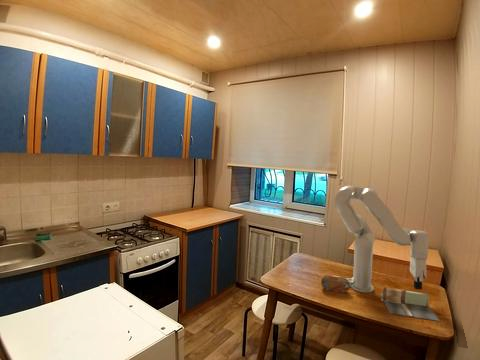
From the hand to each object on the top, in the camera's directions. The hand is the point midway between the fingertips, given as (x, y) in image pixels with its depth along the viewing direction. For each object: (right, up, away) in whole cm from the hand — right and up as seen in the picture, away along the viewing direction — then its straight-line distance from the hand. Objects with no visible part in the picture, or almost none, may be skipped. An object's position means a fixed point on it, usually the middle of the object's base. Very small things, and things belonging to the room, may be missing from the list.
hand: (417, 288), depth 141 cm
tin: (-40, -6, +11) cm, 42 cm away
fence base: (-9, -7, -4) cm, 12 cm away
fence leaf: (-3, -7, -4) cm, 8 cm away
